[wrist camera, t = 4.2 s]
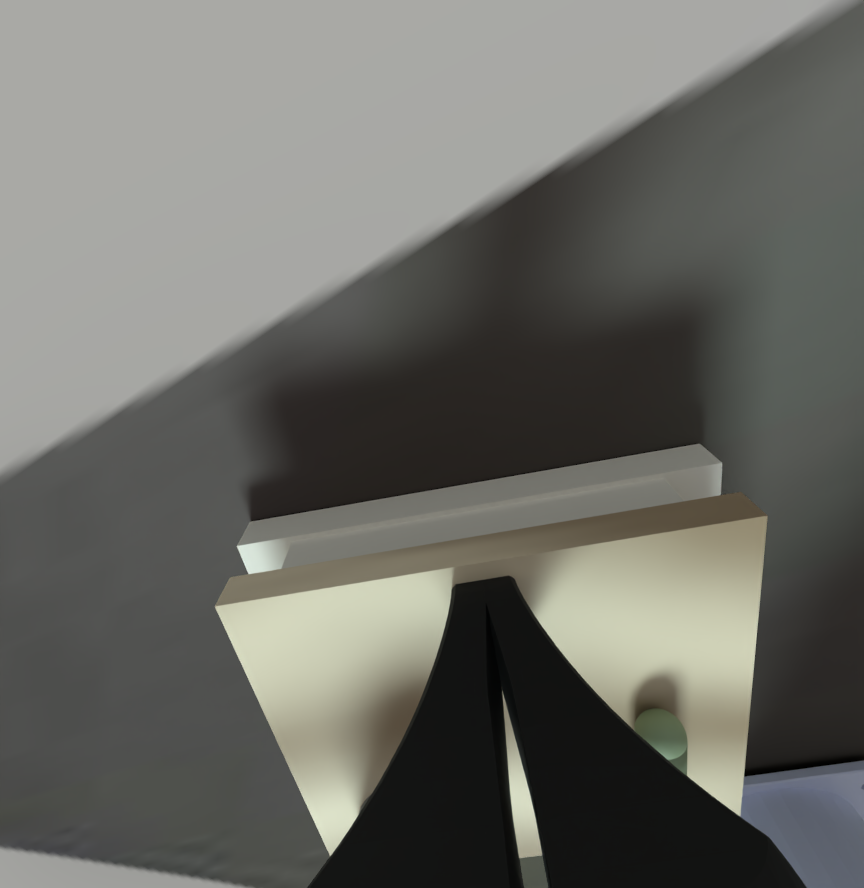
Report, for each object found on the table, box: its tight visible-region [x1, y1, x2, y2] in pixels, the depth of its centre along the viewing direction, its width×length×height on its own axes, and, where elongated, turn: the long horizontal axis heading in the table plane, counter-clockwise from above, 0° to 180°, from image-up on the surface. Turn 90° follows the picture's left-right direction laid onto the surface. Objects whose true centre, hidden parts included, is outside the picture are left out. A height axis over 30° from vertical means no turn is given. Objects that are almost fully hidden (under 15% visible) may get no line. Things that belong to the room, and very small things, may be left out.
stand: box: [237, 444, 722, 574], centre depth 16 cm, size 12×13×3 cm
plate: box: [215, 492, 767, 858], centre depth 12 cm, size 11×12×5 cm
